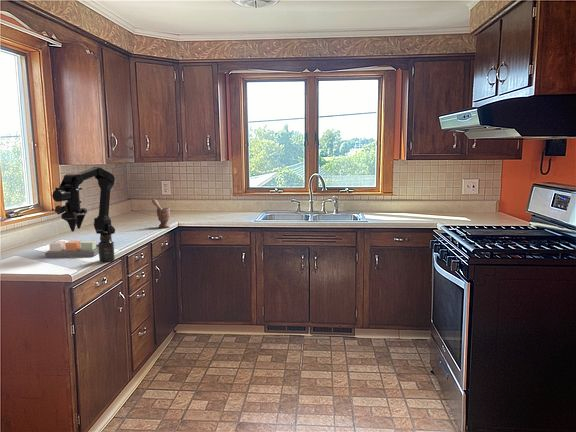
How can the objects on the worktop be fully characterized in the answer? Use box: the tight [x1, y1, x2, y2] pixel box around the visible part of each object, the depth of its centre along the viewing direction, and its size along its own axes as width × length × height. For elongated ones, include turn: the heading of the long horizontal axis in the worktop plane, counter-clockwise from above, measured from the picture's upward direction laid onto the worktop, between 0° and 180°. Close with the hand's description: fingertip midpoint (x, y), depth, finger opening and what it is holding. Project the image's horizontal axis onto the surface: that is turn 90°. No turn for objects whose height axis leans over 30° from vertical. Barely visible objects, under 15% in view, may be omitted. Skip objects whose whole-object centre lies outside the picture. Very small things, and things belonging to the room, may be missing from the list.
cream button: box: [48, 240, 66, 252], centre depth 221 cm, size 5×5×4 cm
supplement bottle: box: [97, 235, 116, 263], centre depth 210 cm, size 7×7×12 cm
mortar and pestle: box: [151, 198, 171, 229], centre depth 297 cm, size 12×9×20 cm
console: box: [44, 246, 99, 259], centre depth 222 cm, size 10×23×2 cm, turn 95°
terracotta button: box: [65, 240, 82, 251], centre depth 222 cm, size 5×5×4 cm
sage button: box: [81, 240, 97, 251], centre depth 222 cm, size 5×5×4 cm
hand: (75, 230), depth 225 cm, fingers open, 8 cm apart
